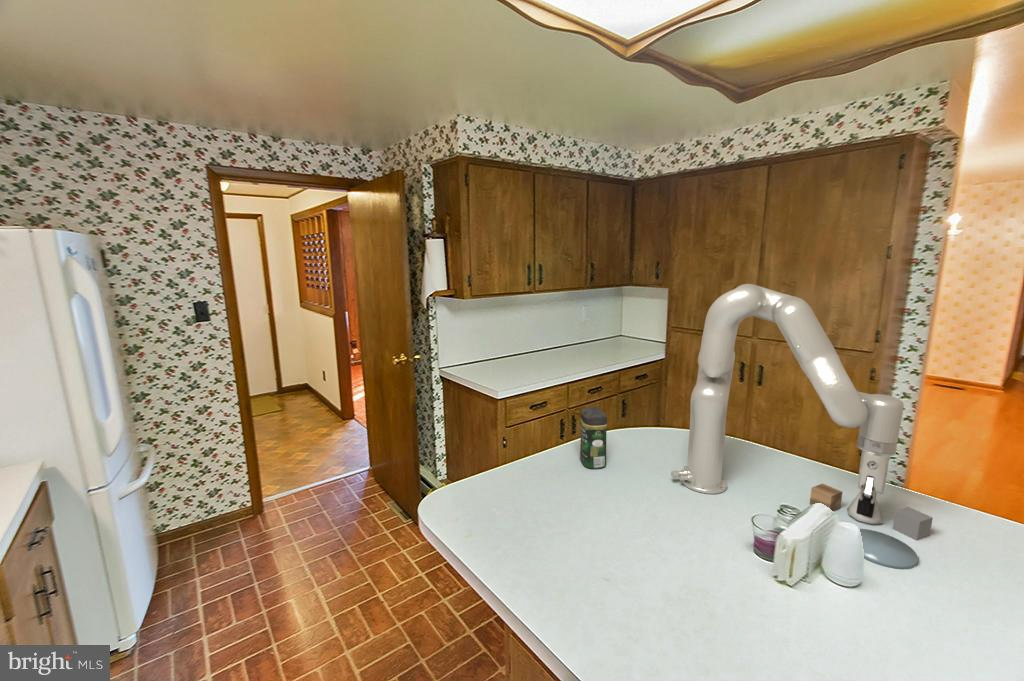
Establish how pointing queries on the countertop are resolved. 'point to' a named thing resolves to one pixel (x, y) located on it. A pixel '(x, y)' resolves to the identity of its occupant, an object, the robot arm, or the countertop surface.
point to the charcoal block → (912, 523)
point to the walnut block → (826, 496)
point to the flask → (852, 511)
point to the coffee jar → (593, 438)
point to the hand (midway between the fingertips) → (865, 509)
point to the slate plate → (887, 550)
